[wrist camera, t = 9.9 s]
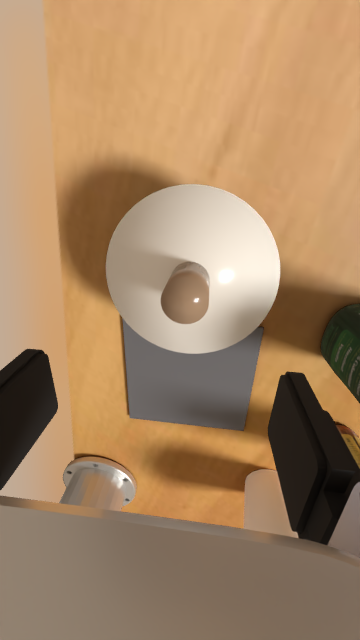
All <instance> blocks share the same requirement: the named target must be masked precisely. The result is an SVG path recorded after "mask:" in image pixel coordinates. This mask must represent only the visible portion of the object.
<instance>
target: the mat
mask: <svg viewBox="0 0 360 640" xmlns="http://www.w3.org/2000/svg"><path fill="white" fill-rule="evenodd" d="M263 330H264V328H263V327H257V328H256V329H255V330H254V331H253V332H252V333H251V334H249V335H248V336H247V337H245V338H244V339H243V340H241V341H239V342H237V343H236V344H234V345H232V346H229V347H227V348H225V349H221V350H218V351H214V352H209V353H200V354H187V353H180V352H174V351H171V350H167V349H164V348H162V347H159V346H157V345H155V344H153V343H151V342H149V341H147V340H146V339H144V338H143V337H141V336H140V335H139V334H138V333H136V332H135V331H134V330H133V329H132V328H131V327H130V326H129V325H128V324H127V323H126V322H125V320H124V319H123V331H124V345H125V358H126V372H127V386H128V400H129V414H130V418H134V419H143V420H152V421H161V422H169V423H178V424H187V425H196V426H204V427H213V428H222V429H231V430H240V431H244V426H245V421H246V416H247V411H248V406H249V401H250V396H251V391H252V385H253V380H254V375H255V370H256V365H257V360H258V355H259V350H260V345H261V340H262V335H263Z"/></svg>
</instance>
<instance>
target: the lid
mask: <svg viewBox="0 0 360 640" xmlns="http://www.w3.org/2000/svg"><path fill="white" fill-rule="evenodd" d="M106 278H107V284H108V288H109V292H110V295H111V298H112V300H113V302H114V305H115V307H116V308H117V310H118V312H119V313H120V315H121V316H122V318H123V319H124V320H125V322H126V323H127V324H128V325H129V326H130V327H131V328H132V329H133V330H134V331H135V332H136V333H138V334H139V335H140V336H141V337H143V338H144V339H146V340H147V341H149V342H151V343H153V344H155V345H157V346H159V347H162V348H164V349H167V350H171V351H174V352H180V353H187V354H200V353H209V352H214V351H218V350H221V349H225V348H227V347H229V346H232V345H234V344H236V343H237V342H239V341H241V340H243V339H244V338H245V337H247V336H248V335H249V334H251V333H252V332H253V331H254V330H255V329H256V328H257V327H258V326H259V325H260V324H261V322H262V321H263V320H264V319H265V317H266V316H267V314H268V312H269V311H270V309H271V307H272V305H273V303H274V300H275V298H276V295H277V291H278V287H279V280H280V260H279V253H278V249H277V246H276V243H275V240H274V238H273V236H272V233H271V231H270V229H269V228H268V226H267V225H266V223H265V222H264V220H263V219H262V217H261V216H260V215H259V214H258V213H257V212H256V211H255V210H254V209H253V208H252V207H251V206H250V205H248V204H247V203H246V202H245V201H244V200H242V199H240V198H239V197H237V196H235V195H234V194H232V193H229V192H227V191H225V190H222V189H219V188H215V187H212V186H208V185H198V184H186V185H177V186H172V187H167V188H165V189H162V190H159V191H156V192H154V193H152V194H150V195H149V196H147V197H145V198H143V199H142V200H141V201H139V202H138V203H137V204H135V205H134V206H133V207H132V208H131V209H130V210H129V211H128V212H127V213H126V214H125V216H124V217H123V218H122V220H121V221H120V222H119V224H118V226H117V227H116V229H115V231H114V233H113V235H112V238H111V241H110V243H109V247H108V251H107V258H106Z"/></svg>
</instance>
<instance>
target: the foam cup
mask: <svg viewBox="0 0 360 640" xmlns="http://www.w3.org/2000/svg"><path fill="white" fill-rule="evenodd" d="M244 529H248V530H254V531H260V532H267V533H273V534H279V535H285V536H290V537H295V538H298V534H297V532H293V531H292V529H291V527H290V523H289V519H288V515H287V510H286V506H285V502H284V498H283V494H282V490H281V486H280V482H279V478H278V473H277V471H274V470H271V469H260V470H257V471H253V472H251V473H250V474H249V475H248V476H247V477H246V480H245V498H244Z"/></svg>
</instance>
